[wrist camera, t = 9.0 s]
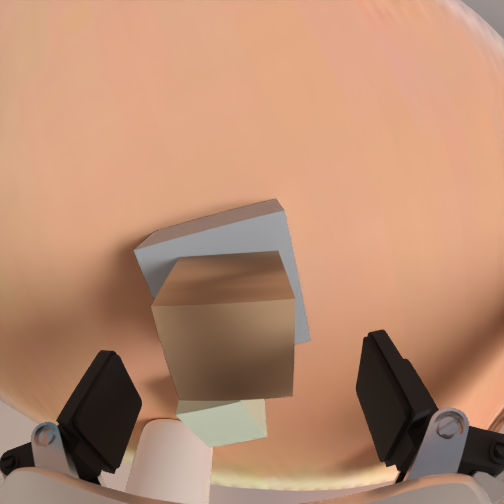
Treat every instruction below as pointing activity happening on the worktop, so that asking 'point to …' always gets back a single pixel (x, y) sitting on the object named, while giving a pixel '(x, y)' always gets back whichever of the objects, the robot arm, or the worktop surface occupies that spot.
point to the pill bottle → (171, 464)
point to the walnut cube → (228, 327)
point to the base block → (225, 247)
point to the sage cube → (224, 420)
